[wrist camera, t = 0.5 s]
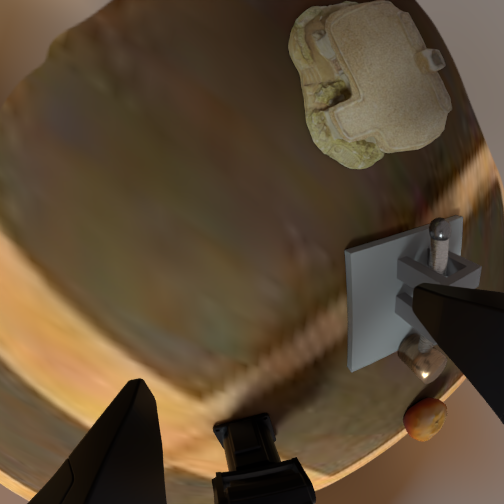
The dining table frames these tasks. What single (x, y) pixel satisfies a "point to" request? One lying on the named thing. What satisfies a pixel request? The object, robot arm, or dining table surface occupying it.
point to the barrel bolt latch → (396, 289)
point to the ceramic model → (367, 81)
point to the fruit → (425, 418)
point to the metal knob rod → (417, 346)
